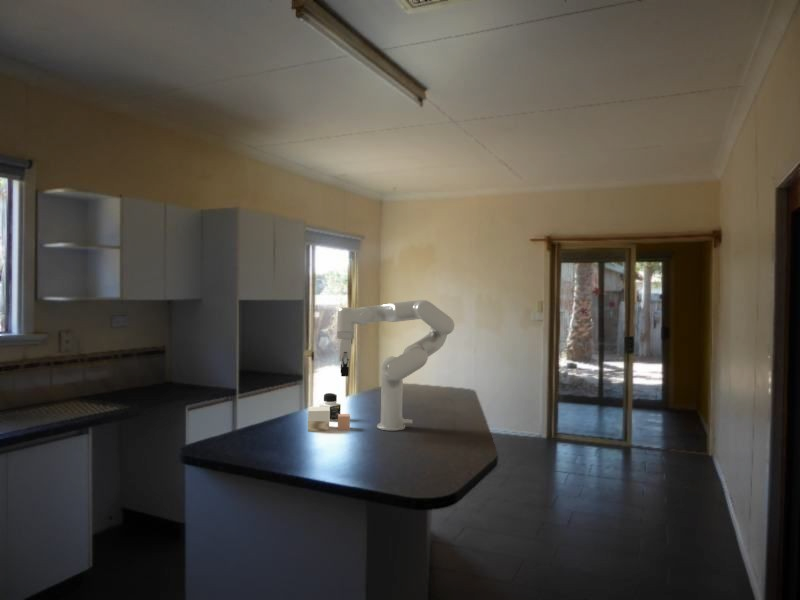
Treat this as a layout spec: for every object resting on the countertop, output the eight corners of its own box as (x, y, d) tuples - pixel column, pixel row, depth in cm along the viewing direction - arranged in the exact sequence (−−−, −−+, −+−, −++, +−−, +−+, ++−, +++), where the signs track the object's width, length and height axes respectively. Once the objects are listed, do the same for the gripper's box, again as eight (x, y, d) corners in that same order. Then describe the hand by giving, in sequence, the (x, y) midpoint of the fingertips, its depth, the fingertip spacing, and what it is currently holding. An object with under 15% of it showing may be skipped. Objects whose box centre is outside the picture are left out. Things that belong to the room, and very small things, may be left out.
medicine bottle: (329, 421, 259) (330, 395, 259) (318, 419, 263) (319, 393, 263) (340, 419, 265) (341, 393, 265) (329, 416, 269) (330, 391, 269)
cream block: (329, 416, 250) (329, 406, 250) (329, 421, 241) (329, 410, 241) (308, 416, 249) (308, 406, 249) (308, 421, 240) (308, 411, 240)
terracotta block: (349, 427, 249) (349, 414, 249) (349, 430, 244) (349, 416, 244) (337, 427, 248) (338, 414, 248) (338, 430, 243) (338, 416, 243)
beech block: (328, 426, 250) (329, 416, 250) (328, 431, 241) (329, 421, 241) (308, 427, 249) (308, 416, 249) (307, 432, 240) (307, 421, 240)
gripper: (336, 334, 254) (335, 371, 254) (337, 337, 237) (336, 377, 237) (353, 334, 255) (352, 372, 255) (355, 337, 238) (353, 377, 238)
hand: (344, 374), depth 246 cm, fingers open, 9 cm apart
